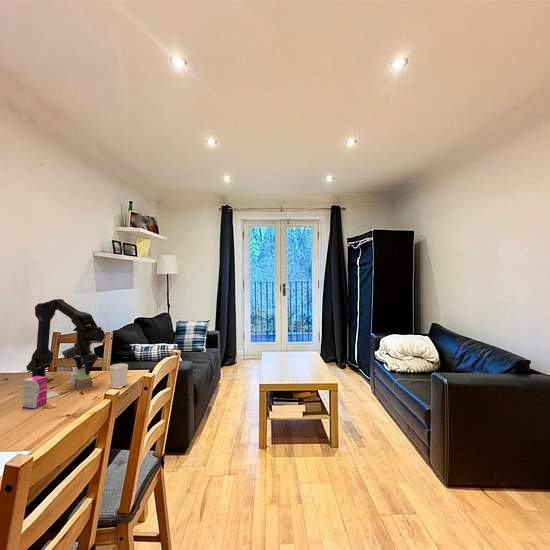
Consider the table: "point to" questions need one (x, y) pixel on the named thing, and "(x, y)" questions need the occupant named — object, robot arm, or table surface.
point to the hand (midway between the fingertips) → (83, 373)
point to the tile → (52, 395)
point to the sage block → (81, 374)
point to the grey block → (72, 377)
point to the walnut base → (83, 383)
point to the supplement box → (34, 392)
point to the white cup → (118, 375)
